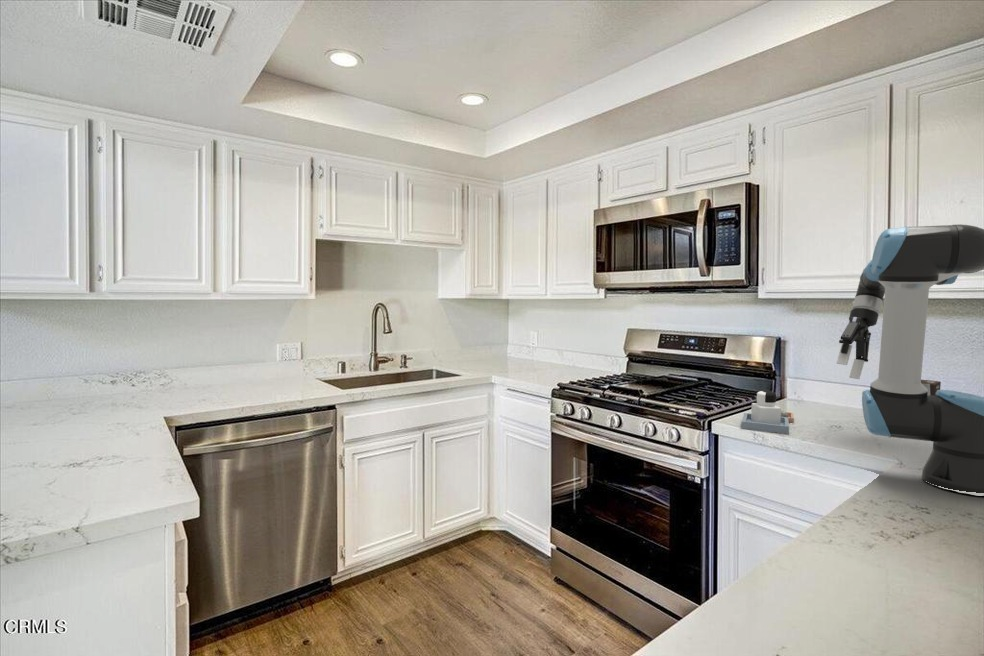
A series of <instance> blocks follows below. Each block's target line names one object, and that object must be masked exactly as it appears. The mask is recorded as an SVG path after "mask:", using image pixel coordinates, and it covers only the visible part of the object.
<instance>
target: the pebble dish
mask: <svg viewBox="0 0 984 656" xmlns="http://www.w3.org/2000/svg"><path fill="white" fill-rule="evenodd" d="M786 412H787V413H788V420H789V424H790V423H794V422H795V417H794V412H790V411H786ZM794 424H795V423H794Z"/></svg>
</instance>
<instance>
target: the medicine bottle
mask: <svg viewBox="0 0 984 656" xmlns="http://www.w3.org/2000/svg"><path fill="white" fill-rule="evenodd" d="M776 404H777V394H776V393H775V392H773V391H768V390H762V391H761V390H760V391H758V392H756V402H752V403H751V412H750V413H751V422H758V423H767V424H776V425H780V420H781V410H782V407H779V406H778V405H776Z"/></svg>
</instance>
